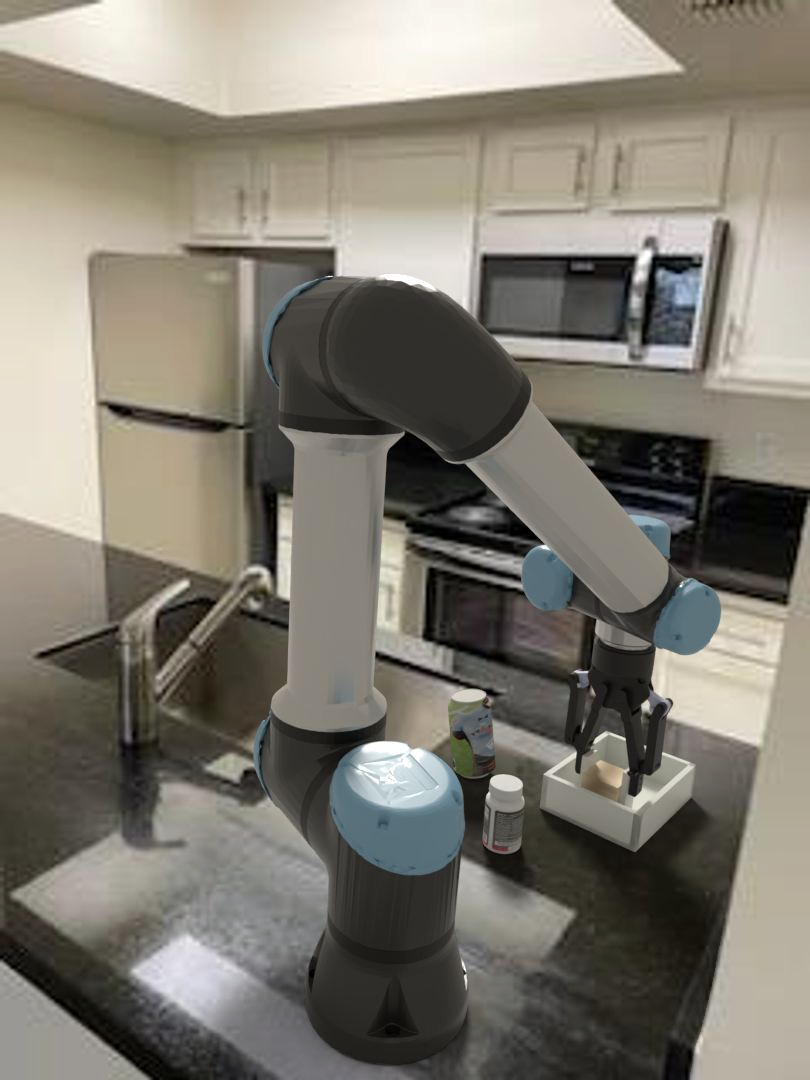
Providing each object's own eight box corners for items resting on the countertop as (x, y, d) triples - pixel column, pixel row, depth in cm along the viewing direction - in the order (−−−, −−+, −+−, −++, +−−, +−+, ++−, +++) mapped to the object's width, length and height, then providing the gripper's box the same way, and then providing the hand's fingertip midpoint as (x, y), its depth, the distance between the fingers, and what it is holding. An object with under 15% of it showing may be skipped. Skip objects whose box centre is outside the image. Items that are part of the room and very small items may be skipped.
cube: (630, 807, 111) (635, 773, 110) (613, 823, 107) (617, 788, 106) (596, 793, 114) (600, 760, 113) (578, 807, 110) (582, 773, 109)
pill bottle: (528, 844, 103) (534, 783, 101) (505, 860, 100) (511, 797, 98) (497, 827, 106) (503, 768, 104) (474, 842, 103) (479, 781, 101)
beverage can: (492, 787, 116) (499, 707, 113) (439, 779, 117) (445, 699, 114) (496, 765, 122) (503, 688, 119) (446, 757, 123) (452, 681, 120)
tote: (635, 852, 103) (640, 816, 102) (539, 808, 111) (543, 774, 110) (691, 797, 116) (696, 764, 115) (602, 761, 124) (606, 730, 123)
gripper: (708, 652, 102) (682, 822, 107) (575, 614, 113) (558, 770, 119) (683, 669, 96) (657, 847, 102) (546, 627, 107) (530, 789, 113)
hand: (604, 805), depth 110 cm, fingers open, 5 cm apart
